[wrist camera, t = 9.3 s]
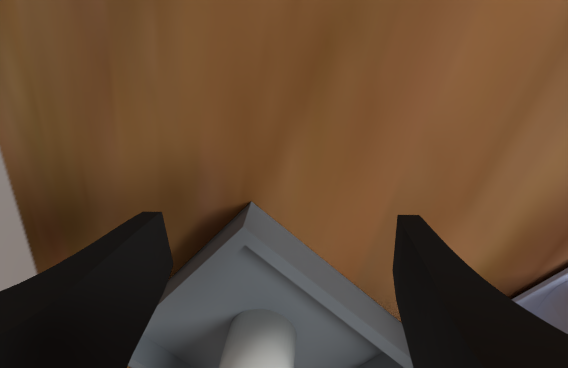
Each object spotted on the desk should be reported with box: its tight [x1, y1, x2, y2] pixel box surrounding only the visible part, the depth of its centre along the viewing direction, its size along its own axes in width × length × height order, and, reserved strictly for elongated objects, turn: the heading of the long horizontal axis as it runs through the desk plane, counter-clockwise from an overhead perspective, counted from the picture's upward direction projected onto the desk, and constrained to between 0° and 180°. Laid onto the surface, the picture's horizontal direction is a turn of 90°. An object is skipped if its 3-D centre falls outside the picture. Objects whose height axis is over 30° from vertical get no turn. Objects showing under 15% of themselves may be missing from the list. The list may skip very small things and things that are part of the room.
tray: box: [128, 201, 413, 368], centre depth 27 cm, size 14×14×2 cm
